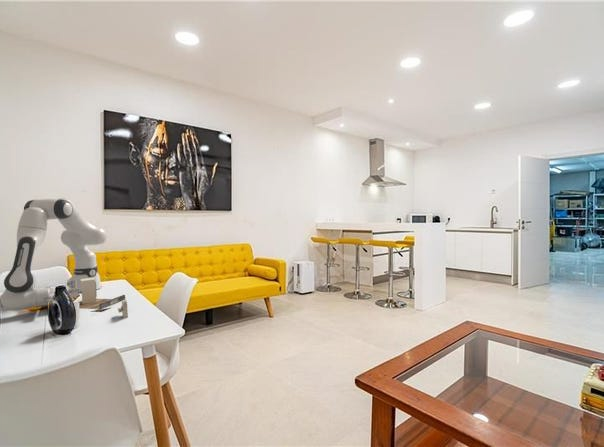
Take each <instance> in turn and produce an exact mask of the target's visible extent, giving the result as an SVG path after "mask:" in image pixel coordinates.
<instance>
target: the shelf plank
mask: <svg viewBox="0 0 604 447" xmlns="http://www.w3.org/2000/svg"><path fill="white" fill-rule="evenodd" d="M125 300H126V294H122V295H119V296H117V297H114V298H96V302H93V303H86V304H82V300H80V301H78V302H79V309H84V310H85V309H88V310H91V309H92V310H91V311H89V312H91V313H92V312H93V313H102V312H105V311H107V310H111V307H110V306H113V305H115V304H118V303H120V302H121V303H122V301H125Z"/></svg>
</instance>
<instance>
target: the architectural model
mask: <svg viewBox="0 0 604 447" xmlns="http://www.w3.org/2000/svg"><path fill="white" fill-rule="evenodd" d="M117 311H118V314H119V313H122V319H127V318H128V317H129V313H128V302H127V299H125V300H123V301H121V306H120V307H118V308H117Z"/></svg>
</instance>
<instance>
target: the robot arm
mask: <svg viewBox="0 0 604 447" xmlns="http://www.w3.org/2000/svg"><path fill="white" fill-rule="evenodd" d="M48 220H49V221H50V220H58V221H59V223H60V224H61V226H62V227H63V229H64V230H62V233H61V234H60V241H61V243H62V244H63V245H65V246H66V247H68V249H70V250H71V252H72V255H73V258H74V267H75V268H73V269H72V271H73V275H72V276H71V277H70V278H69V279H68V280H67V282H66V286H65V287H66V289H67V291H68V293H69V295H70V297H71V298H70V299H72V298H74V297H79V296H80V293H82V289H81V279H86V278H94V277H95V280H96V291H97V290H99V289H101V288H102V287H103V284H102V283H101V282H102V281H101V278H100V274H99V273H98V270H99V268H98V266H97V256H96V253H95V252H94V251H91V250H90V249H89V248H88V246H98V245H101V244H102V245H103V244H105V242H106V240H107V238H108V234H107V232H106V230H105V229H104V228H100V227H99V226H98V227H97V226H96V225H94V224H92V223H91V222H89V221H88V220H86V218H84V216H83V215H82V213H81V212H80V211H79V209H78V208H77V207H76V206H75V204H74V203H73V202H72V201H71V200H69V199H68V198H65V197H60V198H59V197H58V198H57V199H56V198H42V199H31V200H28V201H27V202H26V203H25V204H24V206H23V211H22V213H21V216H20V218H19V221H18V225H17V231H16V253H15V256H14V261H13V265H12V267H11V269H10V271H9V272H8V274H7V275H6V276H5V278H4V280H3V285H4V288H5V290H4V291H3V293H2V294H1V295H0V306H1V308H2V310H5V311H8V312H9V311H10V312H11V311H13V312H14V311H21V310H26V309H30V308H40V307H46V306H49V305H48V302H49V300H50V299H51V297H52V296H53V295H54V292H55V288H56V287H57V286H56V287H55V286H54V287H52V286H46V287H42V288H35V287H36V282H37V278H36V276H35V275H34V274H33V273H32V271H31V270H32V269H31V268H32V264H33V258H34V254H35V251H36V250H37V248H38V247H39V246H41V245H42V244H43V243H44V241H45V238H46V233H47V229H48Z"/></svg>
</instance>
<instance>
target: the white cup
mask: <svg viewBox="0 0 604 447" xmlns="http://www.w3.org/2000/svg"><path fill="white" fill-rule="evenodd" d="M72 302H73V303H74V306H75V309H76V324H75V328H74V329H73V330H75V329H77V328H79V326H80V308H79V301H72Z"/></svg>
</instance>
